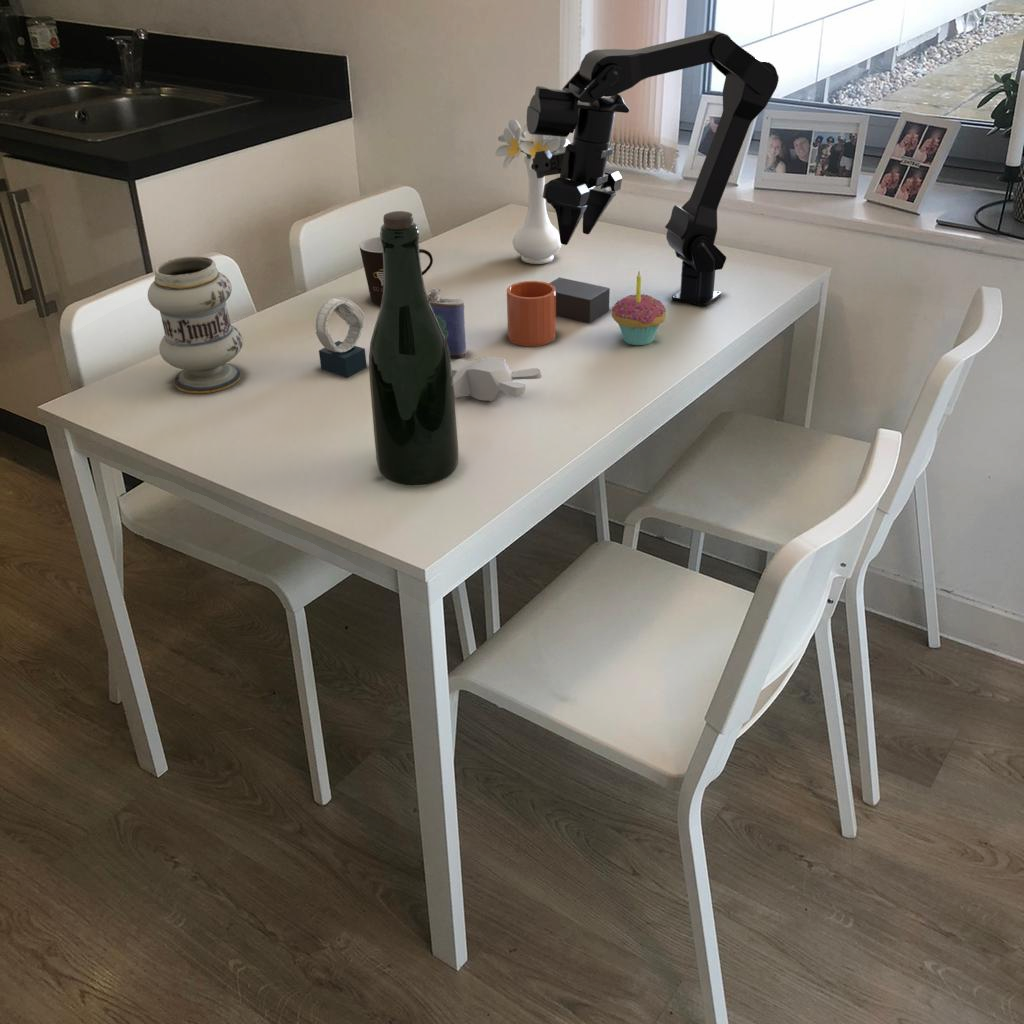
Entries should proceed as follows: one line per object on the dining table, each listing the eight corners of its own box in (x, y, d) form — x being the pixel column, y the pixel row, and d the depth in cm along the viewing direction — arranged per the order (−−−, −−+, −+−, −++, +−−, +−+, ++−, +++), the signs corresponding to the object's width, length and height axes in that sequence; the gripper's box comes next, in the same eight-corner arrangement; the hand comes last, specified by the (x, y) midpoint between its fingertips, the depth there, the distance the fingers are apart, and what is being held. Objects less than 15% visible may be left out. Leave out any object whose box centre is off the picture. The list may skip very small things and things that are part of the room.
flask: (469, 353, 168) (465, 288, 163) (461, 360, 166) (457, 294, 160) (416, 346, 171) (410, 281, 166) (407, 353, 169) (402, 288, 163)
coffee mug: (355, 305, 187) (350, 249, 181) (379, 288, 193) (374, 234, 188) (415, 313, 183) (411, 256, 177) (437, 296, 190) (434, 240, 184)
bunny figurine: (453, 348, 160) (544, 353, 154) (459, 379, 163) (548, 386, 156) (422, 373, 153) (516, 379, 146) (428, 405, 156) (520, 413, 149)
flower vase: (566, 277, 196) (567, 136, 182) (482, 261, 204) (477, 125, 191) (600, 256, 205) (603, 120, 192) (518, 241, 213) (516, 110, 200)
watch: (375, 362, 166) (368, 295, 160) (339, 381, 161) (330, 312, 155) (348, 354, 169) (341, 288, 163) (312, 373, 164) (303, 304, 158)
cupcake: (661, 351, 167) (666, 277, 161) (607, 348, 169) (609, 275, 162) (666, 330, 174) (670, 258, 168) (614, 327, 176) (616, 256, 169)
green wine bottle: (396, 444, 144) (372, 197, 126) (470, 453, 141) (457, 203, 123) (364, 483, 135) (335, 224, 118) (443, 493, 133) (425, 231, 115)
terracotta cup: (525, 324, 178) (524, 277, 174) (564, 333, 174) (564, 286, 170) (498, 340, 172) (497, 292, 168) (538, 350, 169) (538, 302, 164)
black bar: (559, 299, 187) (559, 277, 185) (609, 310, 182) (609, 287, 180) (539, 311, 182) (539, 288, 180) (589, 322, 178) (590, 300, 175)
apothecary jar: (161, 371, 165) (136, 258, 156) (239, 357, 169) (220, 245, 159) (173, 403, 156) (147, 284, 146) (255, 387, 160) (236, 270, 150)
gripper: (568, 122, 176) (553, 217, 184) (519, 134, 161) (505, 237, 169) (631, 137, 173) (613, 233, 180) (587, 150, 157) (569, 254, 165)
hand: (575, 238), depth 174 cm, fingers open, 9 cm apart
